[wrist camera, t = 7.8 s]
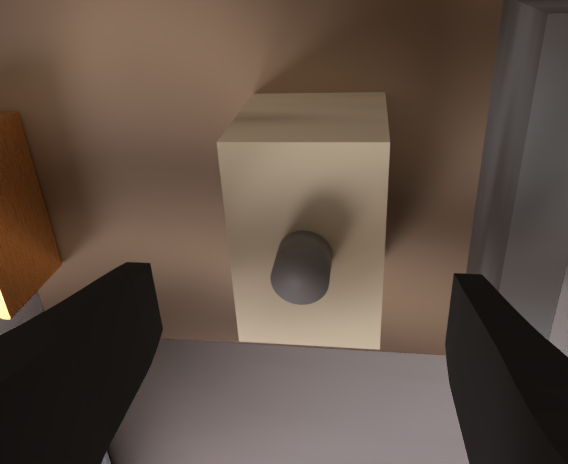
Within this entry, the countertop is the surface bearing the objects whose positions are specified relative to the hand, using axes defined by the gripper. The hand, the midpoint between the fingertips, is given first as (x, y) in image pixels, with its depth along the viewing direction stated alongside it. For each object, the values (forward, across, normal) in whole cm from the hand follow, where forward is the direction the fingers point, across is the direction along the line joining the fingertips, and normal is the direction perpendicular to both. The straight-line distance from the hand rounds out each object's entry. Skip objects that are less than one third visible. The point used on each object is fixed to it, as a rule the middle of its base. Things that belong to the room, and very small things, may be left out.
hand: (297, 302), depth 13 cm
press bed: (+7, +8, 0) cm, 11 cm away
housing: (+6, 0, -1) cm, 6 cm away
